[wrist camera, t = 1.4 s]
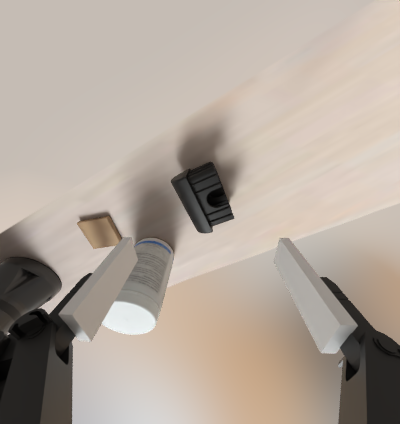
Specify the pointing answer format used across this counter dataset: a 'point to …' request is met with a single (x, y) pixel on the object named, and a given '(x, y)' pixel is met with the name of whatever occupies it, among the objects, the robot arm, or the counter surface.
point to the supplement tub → (142, 289)
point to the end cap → (203, 197)
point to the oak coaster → (100, 232)
